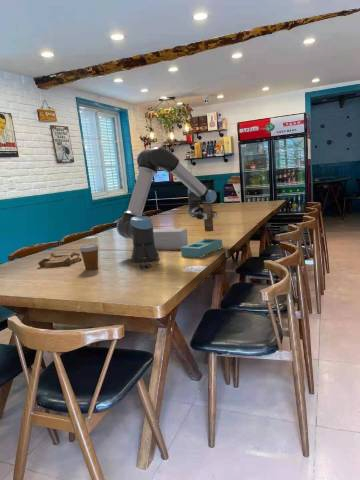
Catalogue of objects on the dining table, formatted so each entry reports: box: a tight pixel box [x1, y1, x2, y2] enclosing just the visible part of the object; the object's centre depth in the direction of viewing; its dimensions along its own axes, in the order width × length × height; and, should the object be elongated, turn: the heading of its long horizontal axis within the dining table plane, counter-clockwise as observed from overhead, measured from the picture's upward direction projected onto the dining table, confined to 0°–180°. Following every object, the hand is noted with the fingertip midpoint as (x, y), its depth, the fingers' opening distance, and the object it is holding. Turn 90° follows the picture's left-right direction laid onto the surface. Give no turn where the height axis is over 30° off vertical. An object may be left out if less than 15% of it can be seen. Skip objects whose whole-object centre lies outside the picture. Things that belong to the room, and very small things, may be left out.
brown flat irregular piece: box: [37, 251, 82, 269], centre depth 201 cm, size 24×24×5 cm
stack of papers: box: [153, 228, 189, 249], centre depth 222 cm, size 32×11×11 cm, turn 67°
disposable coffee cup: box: [79, 243, 99, 271], centre depth 180 cm, size 10×10×12 cm
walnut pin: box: [202, 202, 214, 233], centre depth 201 cm, size 5×5×16 cm
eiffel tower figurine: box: [129, 245, 162, 271], centre depth 173 cm, size 15×10×13 cm
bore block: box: [180, 238, 223, 258], centre depth 196 cm, size 24×12×5 cm, turn 143°
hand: (211, 216), depth 196 cm, fingers closed on walnut pin, 5 cm apart
